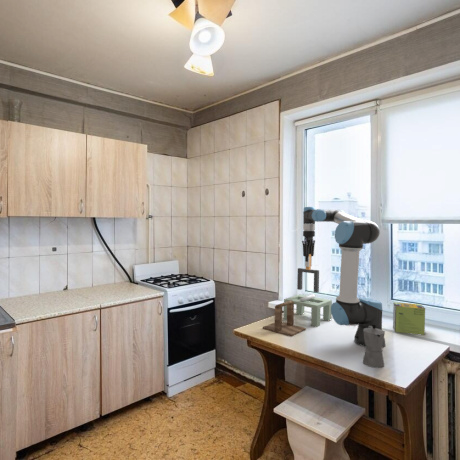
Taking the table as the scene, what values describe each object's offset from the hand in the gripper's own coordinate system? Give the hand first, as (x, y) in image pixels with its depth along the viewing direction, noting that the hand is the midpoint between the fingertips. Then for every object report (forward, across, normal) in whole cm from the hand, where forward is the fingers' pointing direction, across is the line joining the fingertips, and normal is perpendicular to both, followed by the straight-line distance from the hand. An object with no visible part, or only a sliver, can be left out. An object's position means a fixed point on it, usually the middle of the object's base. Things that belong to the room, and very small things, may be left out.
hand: (308, 266), depth 217 cm
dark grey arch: (+4, 0, 0) cm, 4 cm away
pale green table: (+35, 0, 0) cm, 35 cm away
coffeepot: (+35, +40, +55) cm, 77 cm away
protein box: (+35, -21, +55) cm, 69 cm away
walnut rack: (+35, +28, 0) cm, 45 cm away
